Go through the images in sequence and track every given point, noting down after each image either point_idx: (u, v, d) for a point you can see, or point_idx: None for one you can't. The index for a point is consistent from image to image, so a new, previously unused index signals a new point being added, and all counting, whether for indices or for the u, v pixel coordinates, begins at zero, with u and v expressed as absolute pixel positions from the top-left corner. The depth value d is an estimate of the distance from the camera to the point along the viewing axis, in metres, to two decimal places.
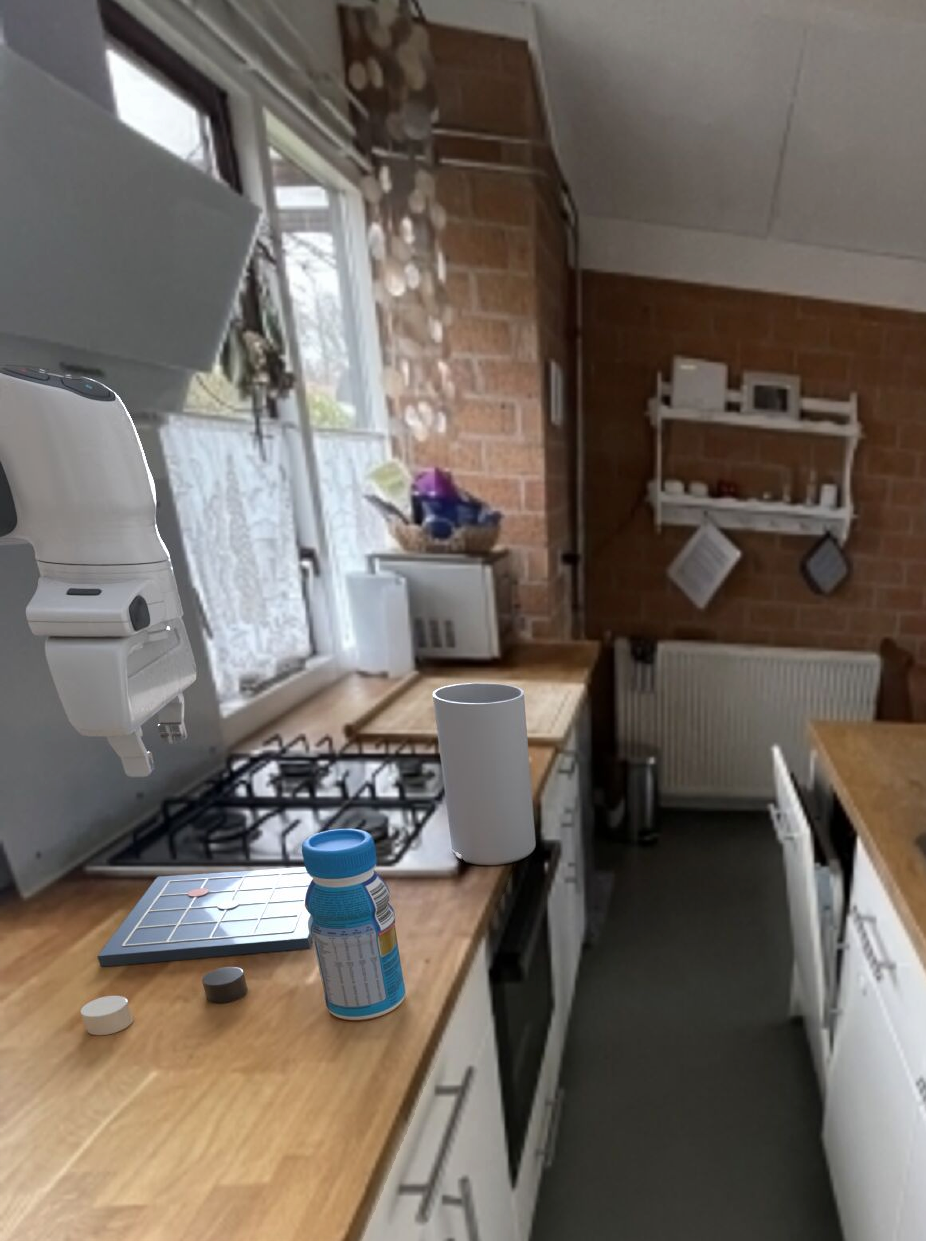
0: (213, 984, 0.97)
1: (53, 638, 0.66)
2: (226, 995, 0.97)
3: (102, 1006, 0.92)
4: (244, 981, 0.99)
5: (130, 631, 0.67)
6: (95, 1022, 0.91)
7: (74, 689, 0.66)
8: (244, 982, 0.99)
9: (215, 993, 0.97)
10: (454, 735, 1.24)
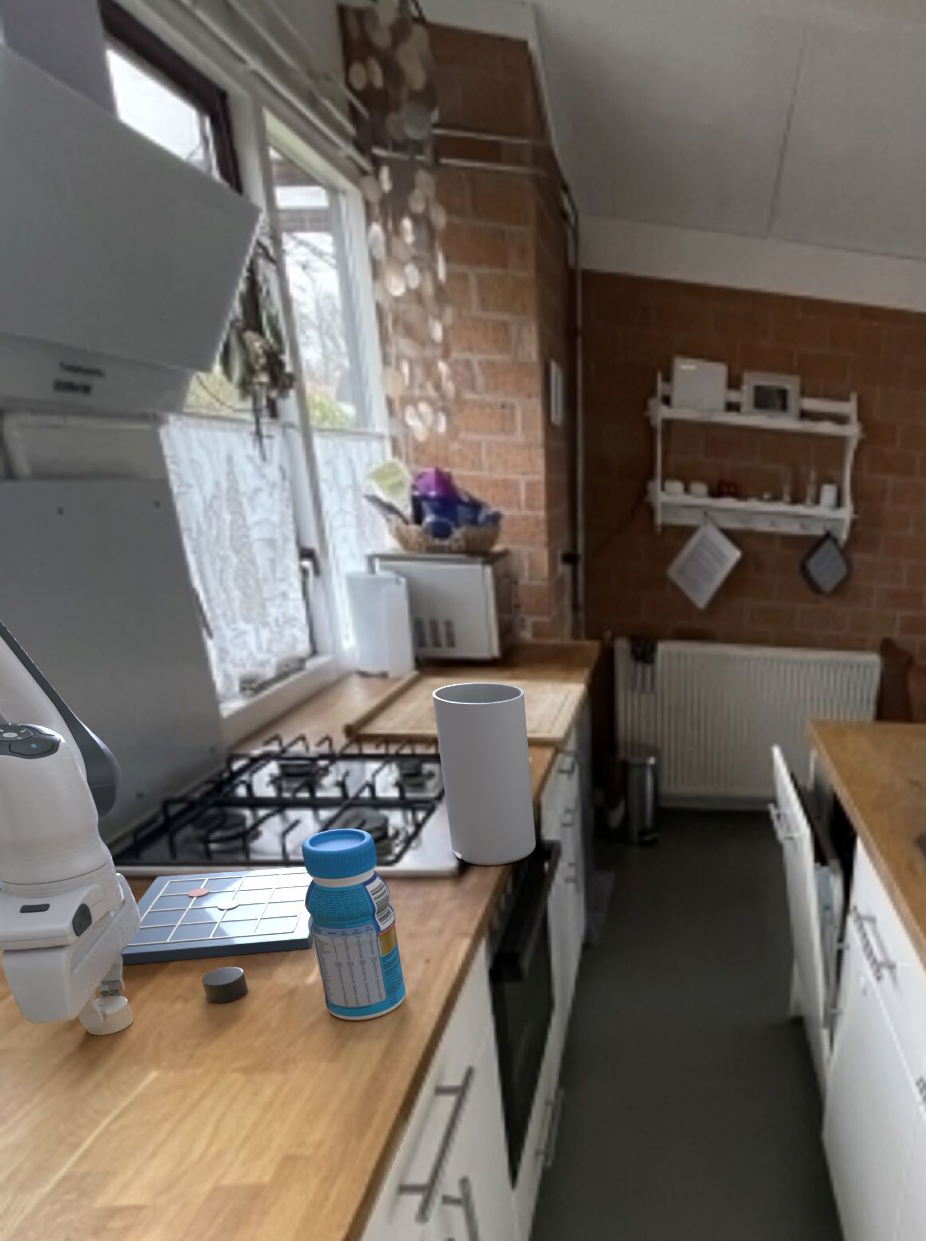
0: (213, 984, 0.97)
1: (8, 950, 0.80)
2: (226, 995, 0.97)
3: None
4: (244, 981, 0.99)
5: (73, 940, 0.81)
6: None
7: (26, 992, 0.80)
8: (244, 982, 0.99)
9: (215, 993, 0.97)
10: (454, 735, 1.24)
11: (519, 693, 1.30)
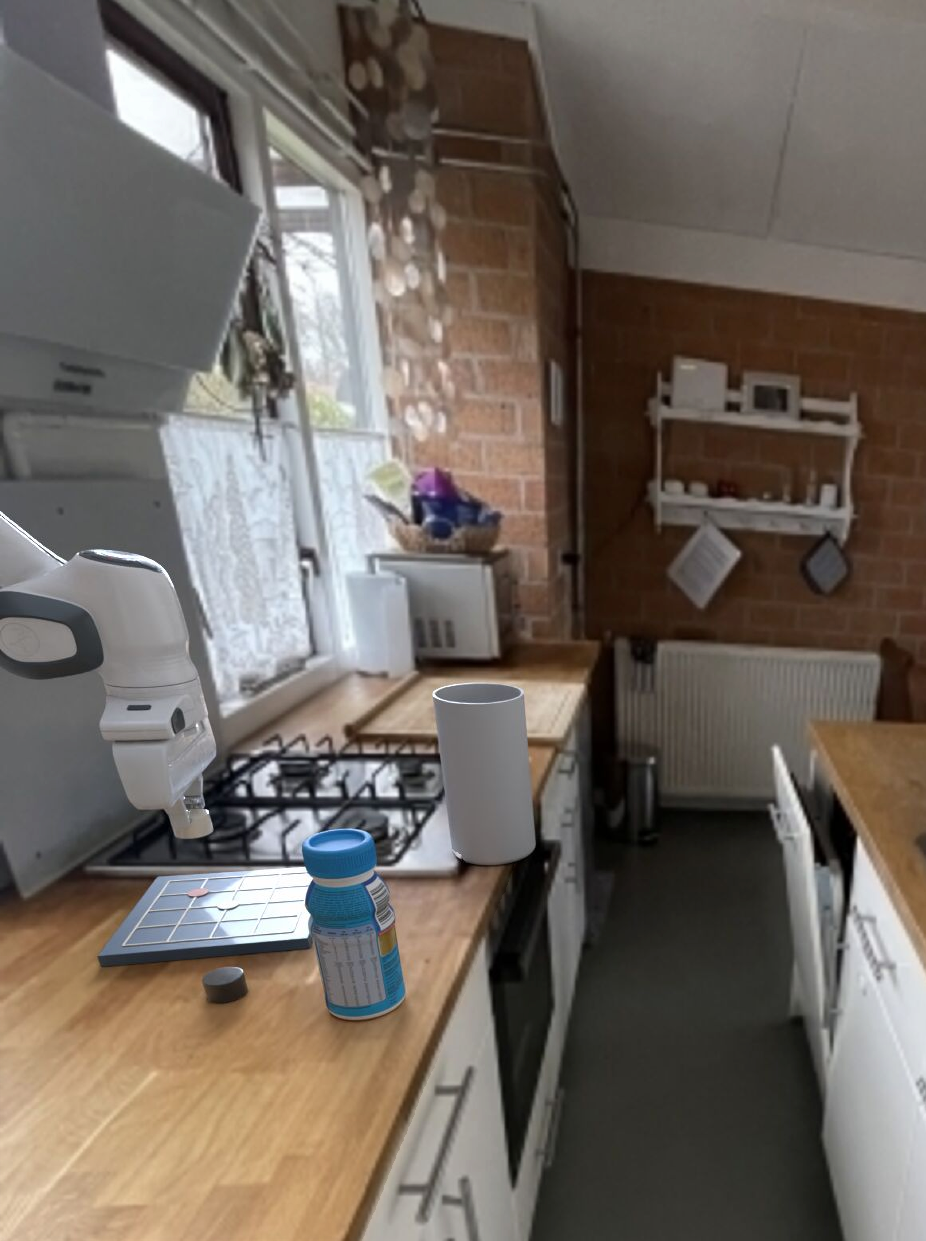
0: (213, 984, 0.97)
1: (118, 741, 0.93)
2: (226, 995, 0.97)
3: None
4: (244, 981, 0.99)
5: (172, 735, 0.94)
6: None
7: (132, 777, 0.93)
8: (244, 982, 0.99)
9: (215, 993, 0.97)
10: (454, 735, 1.24)
11: (519, 693, 1.30)
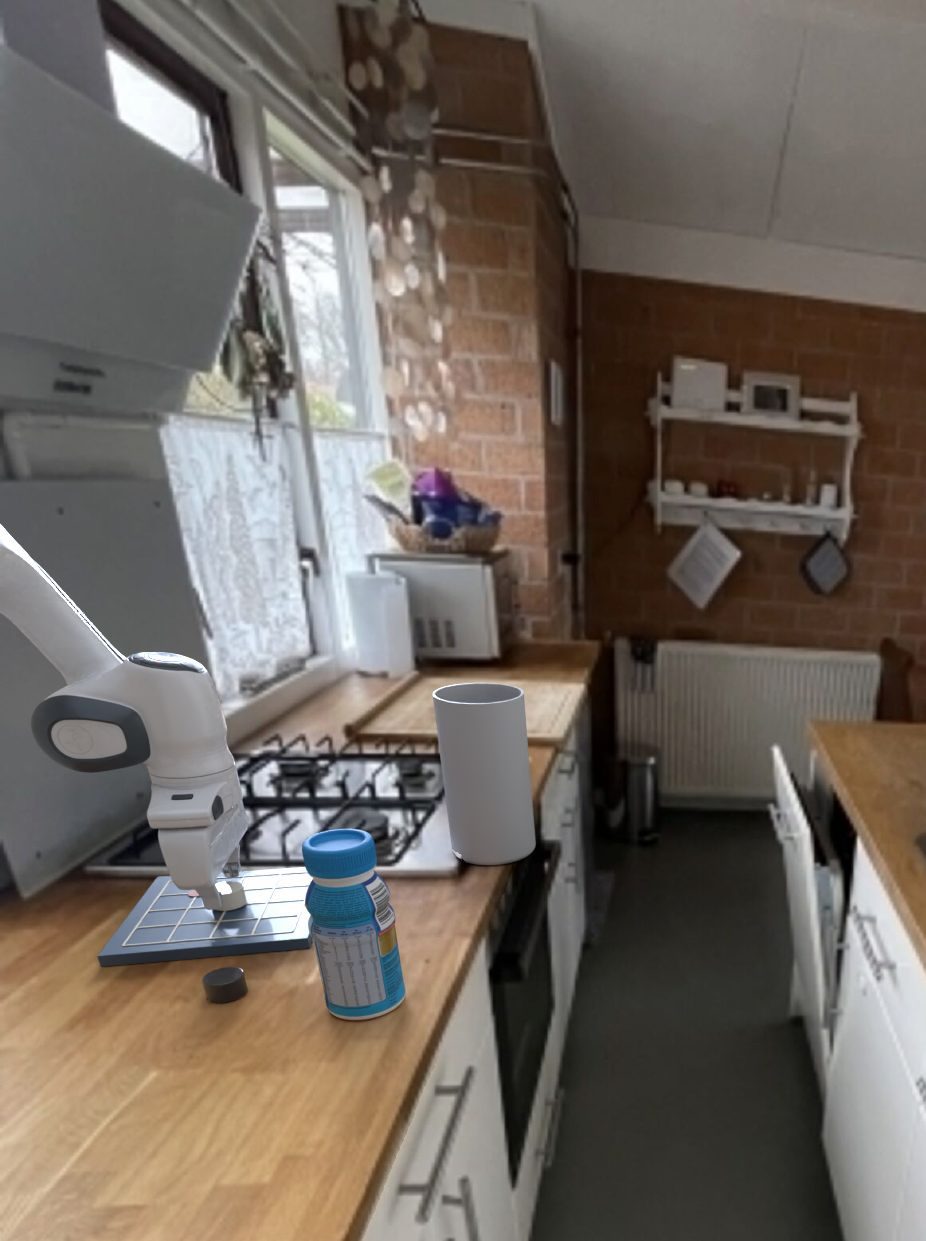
0: (213, 984, 0.97)
1: (163, 829, 1.01)
2: (226, 995, 0.97)
3: (224, 888, 1.13)
4: (244, 981, 0.99)
5: (212, 822, 1.02)
6: None
7: (176, 862, 1.01)
8: (244, 982, 0.99)
9: (215, 993, 0.97)
10: (454, 735, 1.24)
11: (519, 693, 1.30)
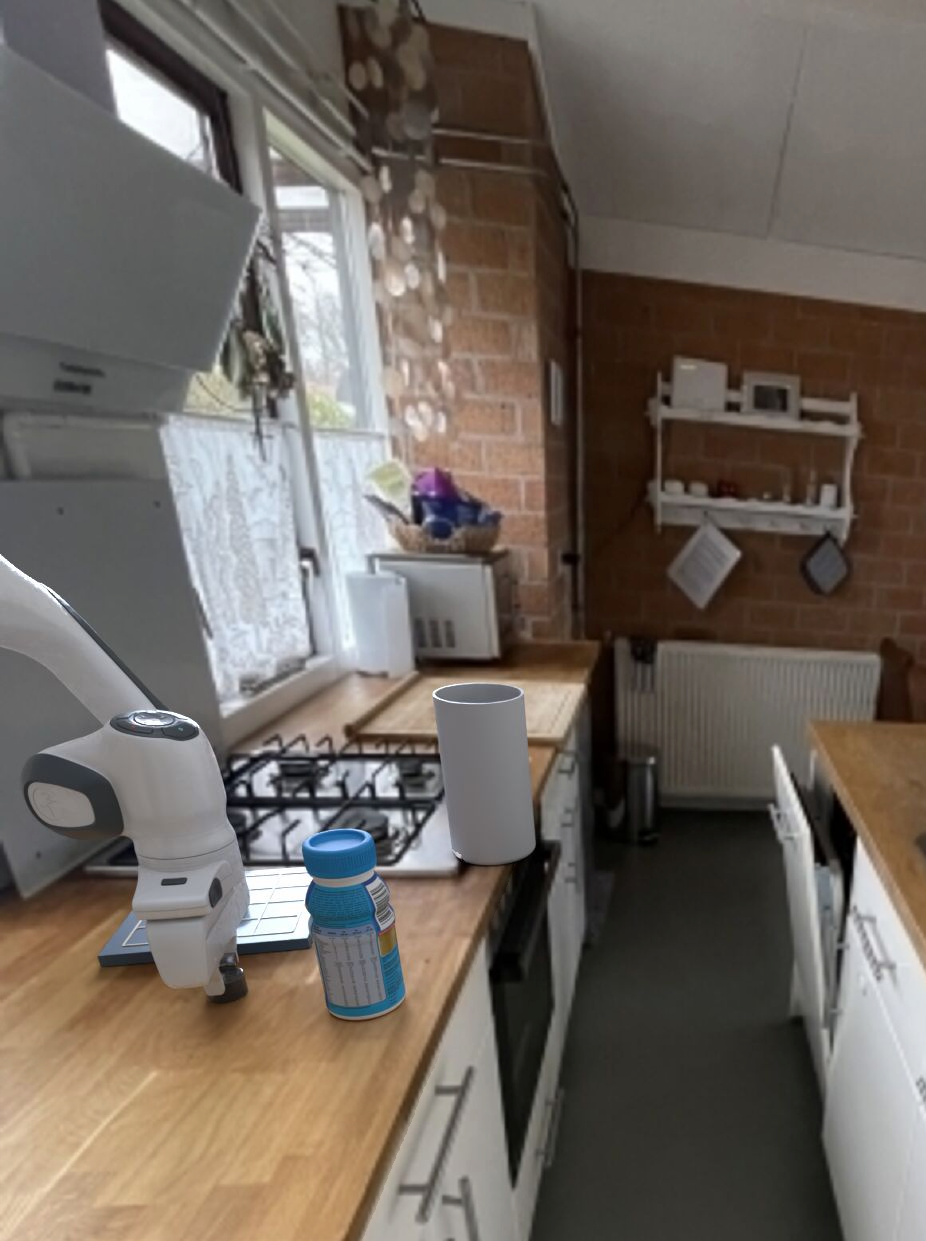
0: None
1: (151, 920, 0.86)
2: (226, 995, 0.97)
3: None
4: (244, 981, 0.99)
5: (209, 911, 0.87)
6: None
7: (167, 958, 0.86)
8: (244, 982, 0.99)
9: None
10: (454, 735, 1.24)
11: (519, 693, 1.30)
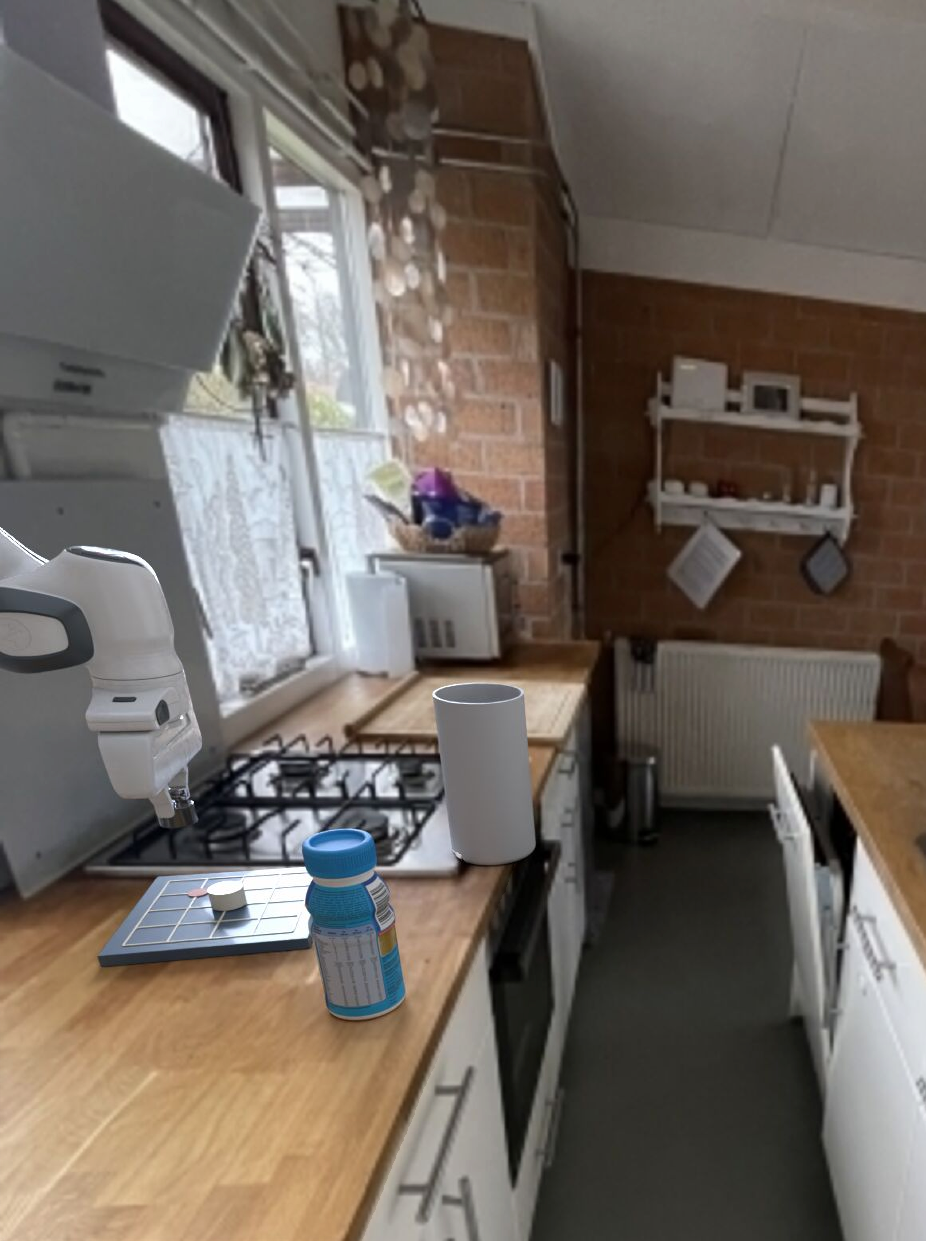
0: None
1: (103, 732, 0.96)
2: (177, 821, 1.07)
3: (224, 888, 1.13)
4: (194, 811, 1.09)
5: (156, 726, 0.97)
6: (220, 900, 1.12)
7: (117, 767, 0.96)
8: (194, 811, 1.09)
9: (166, 818, 1.07)
10: (454, 735, 1.24)
11: (519, 693, 1.30)
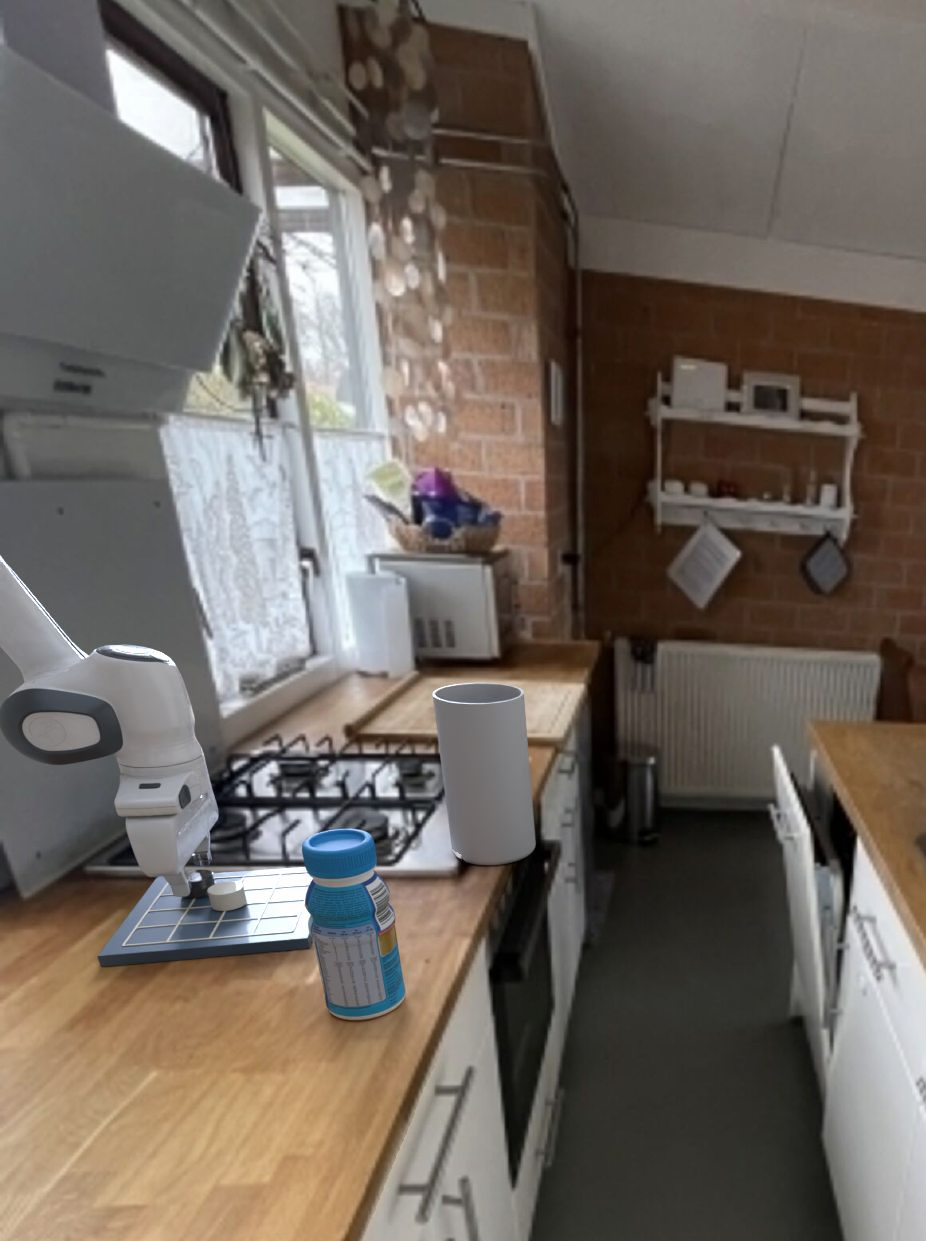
0: None
1: (130, 817, 1.03)
2: (198, 891, 1.15)
3: (224, 888, 1.13)
4: (213, 881, 1.17)
5: (179, 811, 1.04)
6: (220, 900, 1.12)
7: (144, 849, 1.04)
8: (213, 882, 1.17)
9: None
10: (454, 735, 1.24)
11: (519, 693, 1.30)
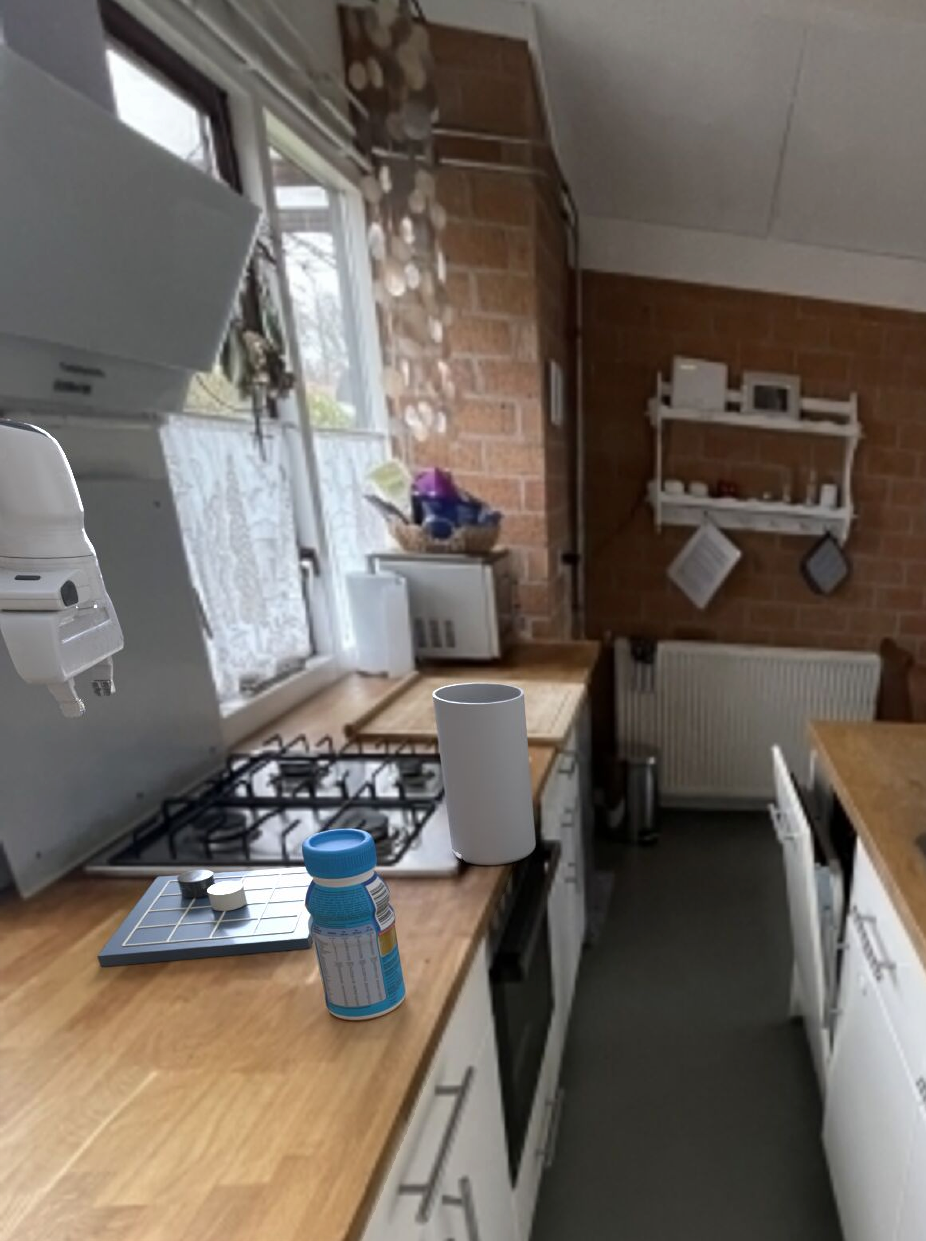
0: (186, 881, 1.14)
1: (4, 611, 0.91)
2: (198, 891, 1.15)
3: (224, 888, 1.13)
4: (213, 881, 1.17)
5: (61, 606, 0.92)
6: (220, 900, 1.12)
7: (20, 648, 0.91)
8: (213, 882, 1.17)
9: (188, 889, 1.15)
10: (454, 735, 1.24)
11: (519, 693, 1.30)
